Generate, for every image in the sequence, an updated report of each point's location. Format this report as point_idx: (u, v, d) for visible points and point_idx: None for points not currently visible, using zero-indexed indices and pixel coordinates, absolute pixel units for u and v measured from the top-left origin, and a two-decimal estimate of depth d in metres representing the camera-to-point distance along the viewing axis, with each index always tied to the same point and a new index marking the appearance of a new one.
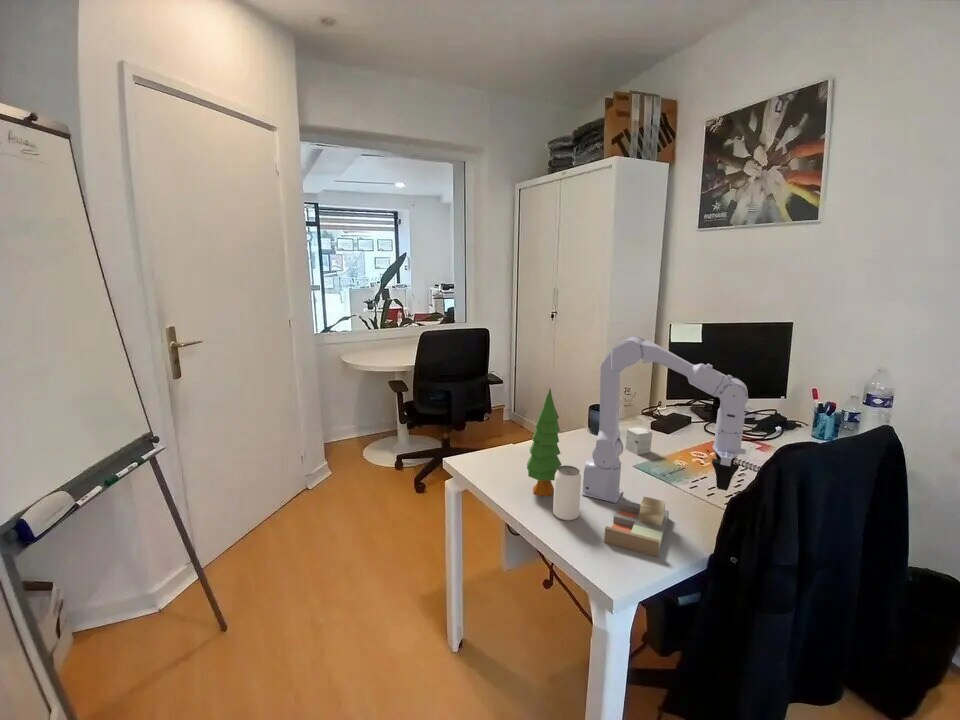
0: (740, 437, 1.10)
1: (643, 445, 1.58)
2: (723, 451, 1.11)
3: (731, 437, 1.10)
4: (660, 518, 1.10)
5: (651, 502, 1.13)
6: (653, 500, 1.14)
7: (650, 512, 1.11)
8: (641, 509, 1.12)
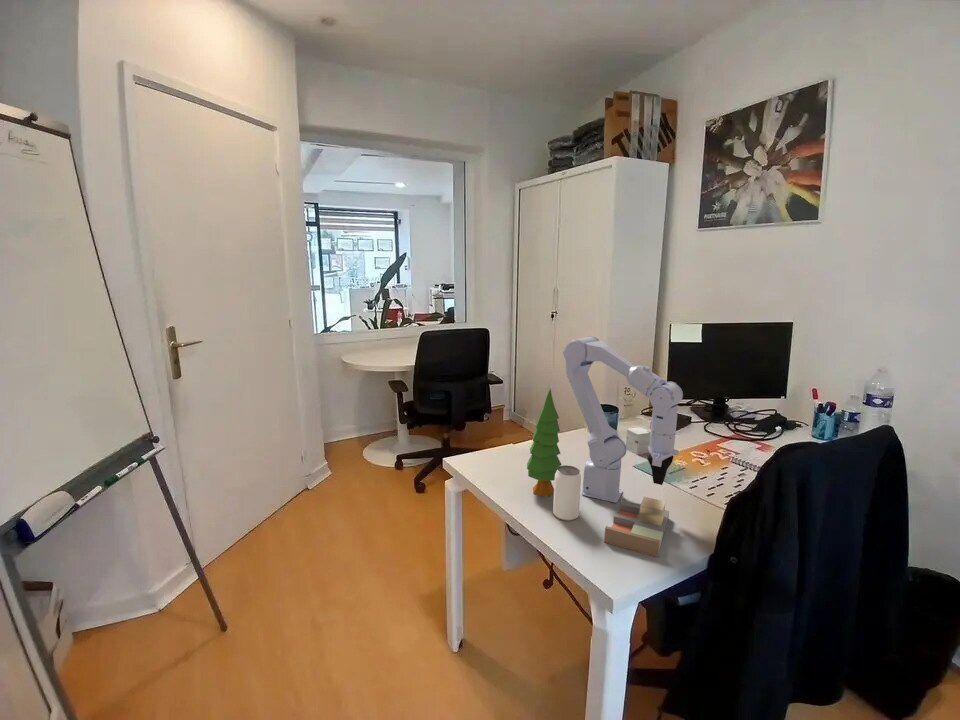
0: (672, 439, 1.14)
1: (643, 445, 1.58)
2: (656, 452, 1.14)
3: (663, 439, 1.13)
4: (660, 518, 1.10)
5: (651, 502, 1.13)
6: (653, 500, 1.14)
7: (650, 512, 1.11)
8: (641, 509, 1.12)
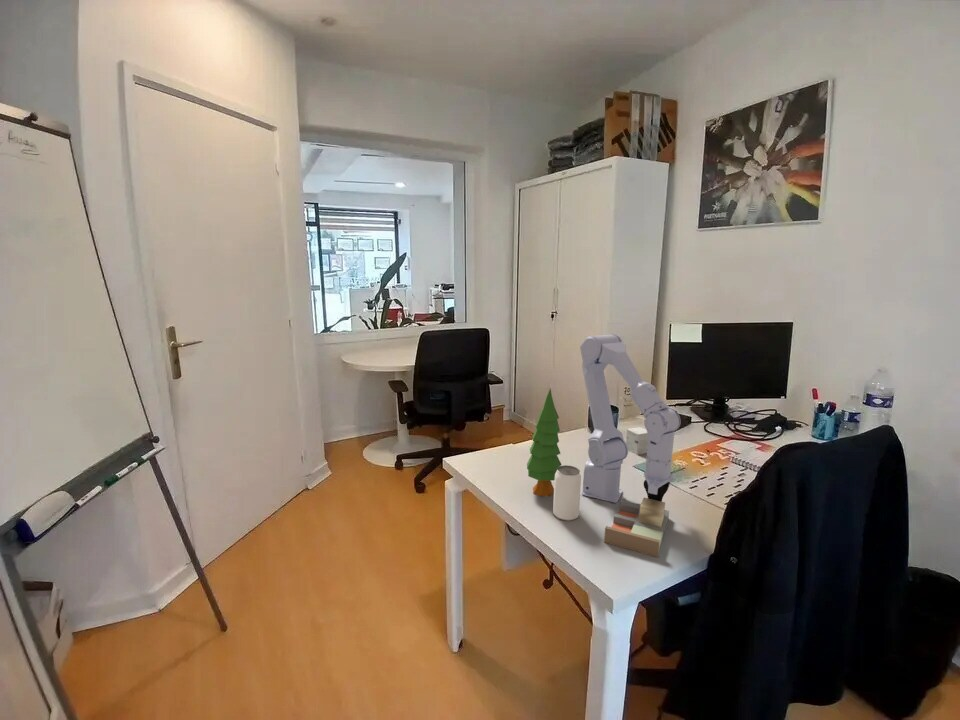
0: (668, 465, 1.12)
1: (643, 445, 1.58)
2: (652, 479, 1.12)
3: (659, 465, 1.11)
4: (660, 519, 1.09)
5: (651, 503, 1.12)
6: (653, 501, 1.14)
7: (650, 513, 1.10)
8: (641, 510, 1.11)
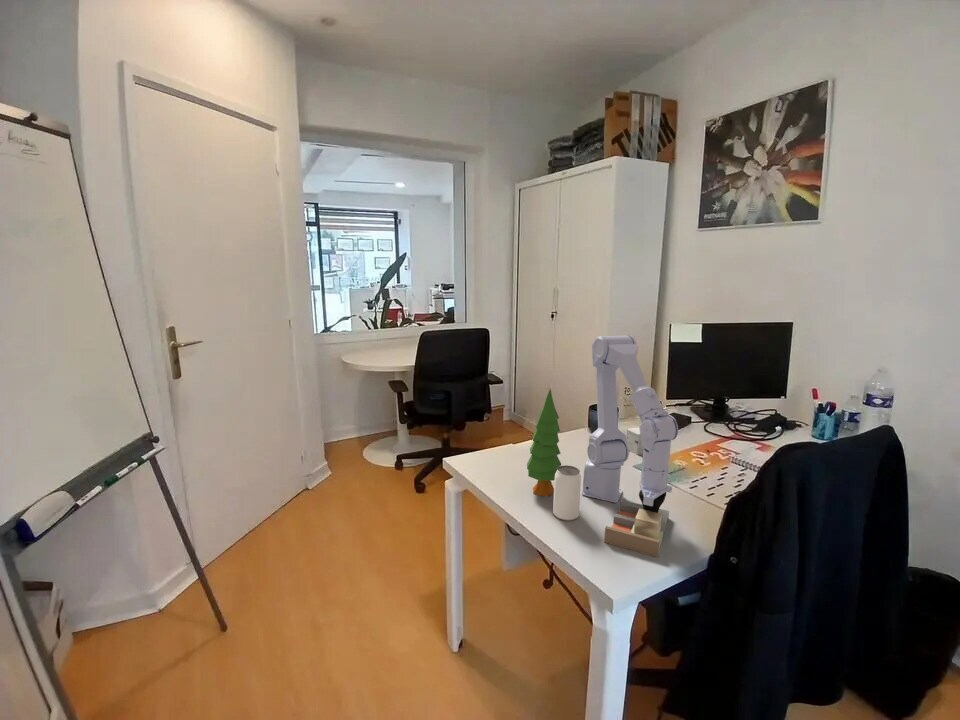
0: (665, 475, 1.06)
1: None
2: (648, 489, 1.07)
3: (655, 475, 1.06)
4: (656, 532, 1.04)
5: (646, 515, 1.07)
6: (649, 512, 1.08)
7: (645, 525, 1.05)
8: (636, 522, 1.06)
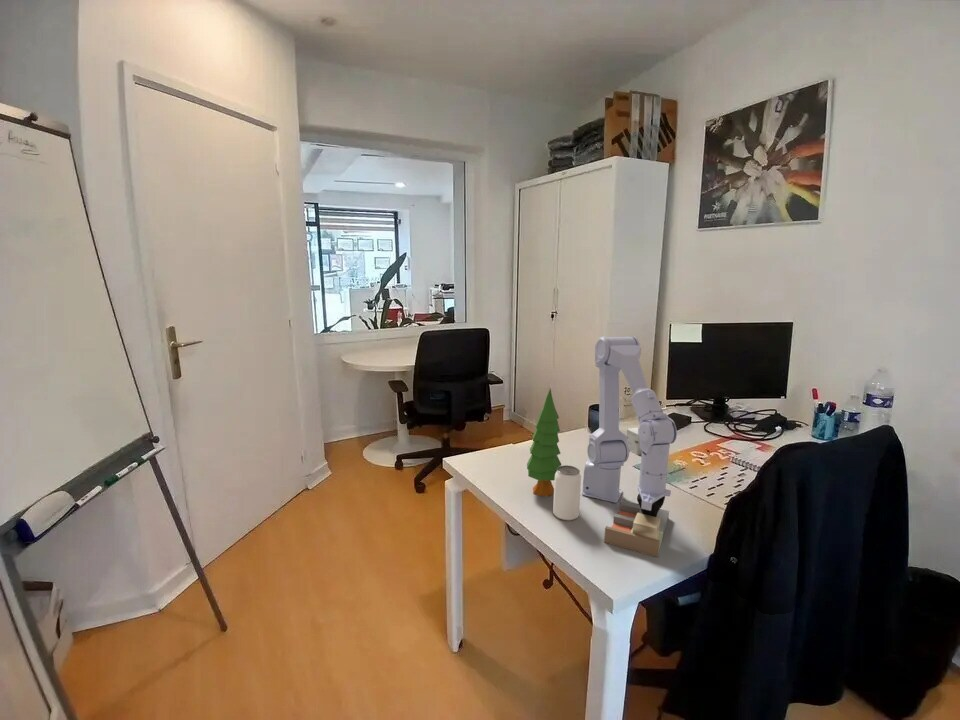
0: (663, 479, 1.04)
1: None
2: (646, 493, 1.05)
3: (654, 479, 1.04)
4: (654, 537, 1.02)
5: (645, 519, 1.05)
6: (647, 517, 1.06)
7: (644, 530, 1.03)
8: (634, 527, 1.04)
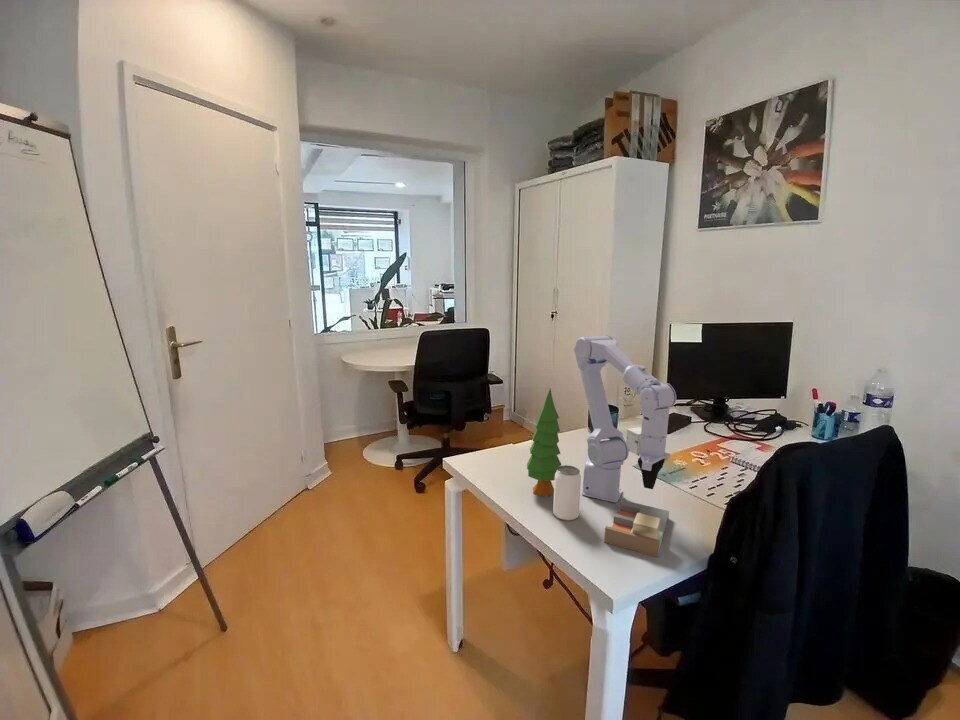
0: (663, 442, 1.09)
1: None
2: (647, 455, 1.10)
3: (654, 441, 1.09)
4: (654, 537, 1.02)
5: (645, 519, 1.05)
6: (647, 517, 1.06)
7: (644, 530, 1.03)
8: (634, 527, 1.04)
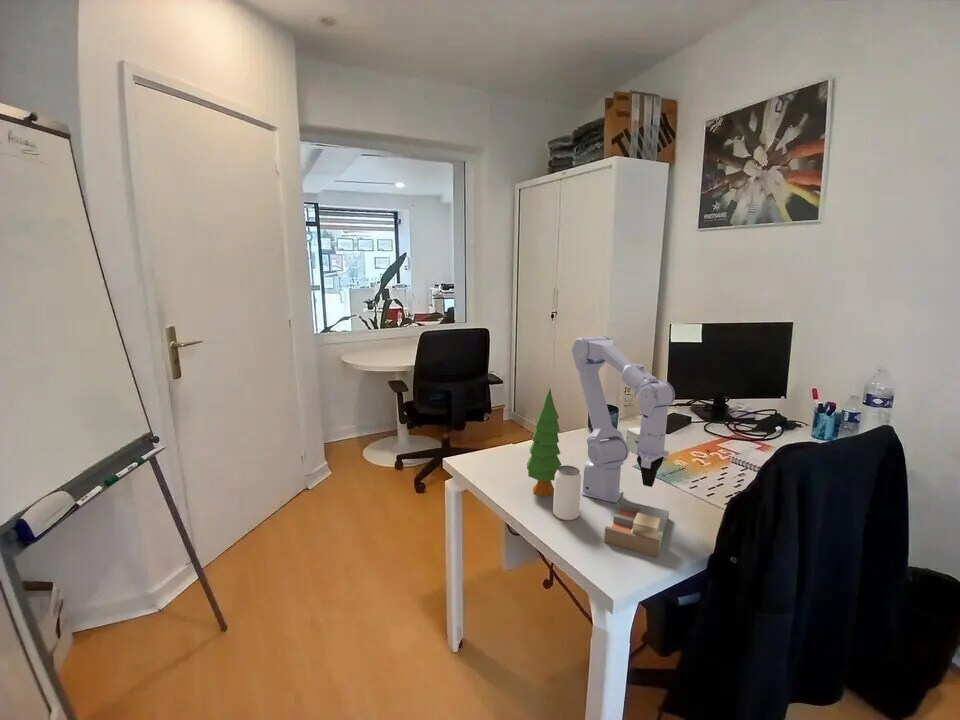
0: (662, 439, 1.10)
1: None
2: (646, 453, 1.11)
3: (653, 439, 1.09)
4: (654, 537, 1.02)
5: (645, 519, 1.05)
6: (647, 517, 1.06)
7: (644, 530, 1.03)
8: (634, 527, 1.04)
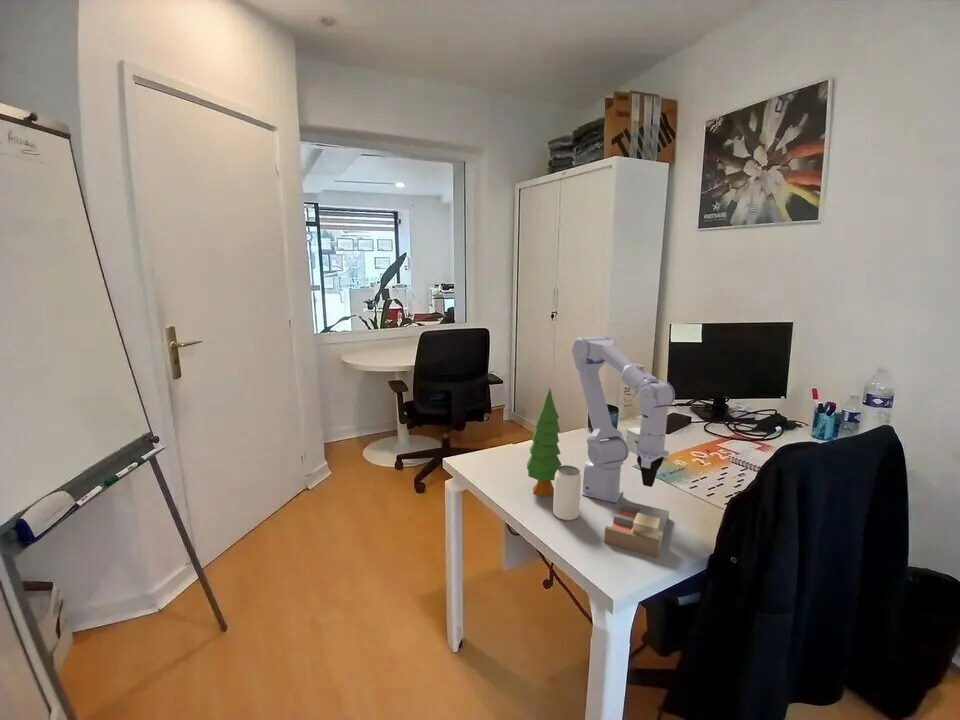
0: (662, 439, 1.10)
1: None
2: (646, 453, 1.11)
3: (653, 439, 1.09)
4: (654, 537, 1.02)
5: (645, 519, 1.05)
6: (647, 517, 1.06)
7: (644, 530, 1.03)
8: (634, 527, 1.04)
